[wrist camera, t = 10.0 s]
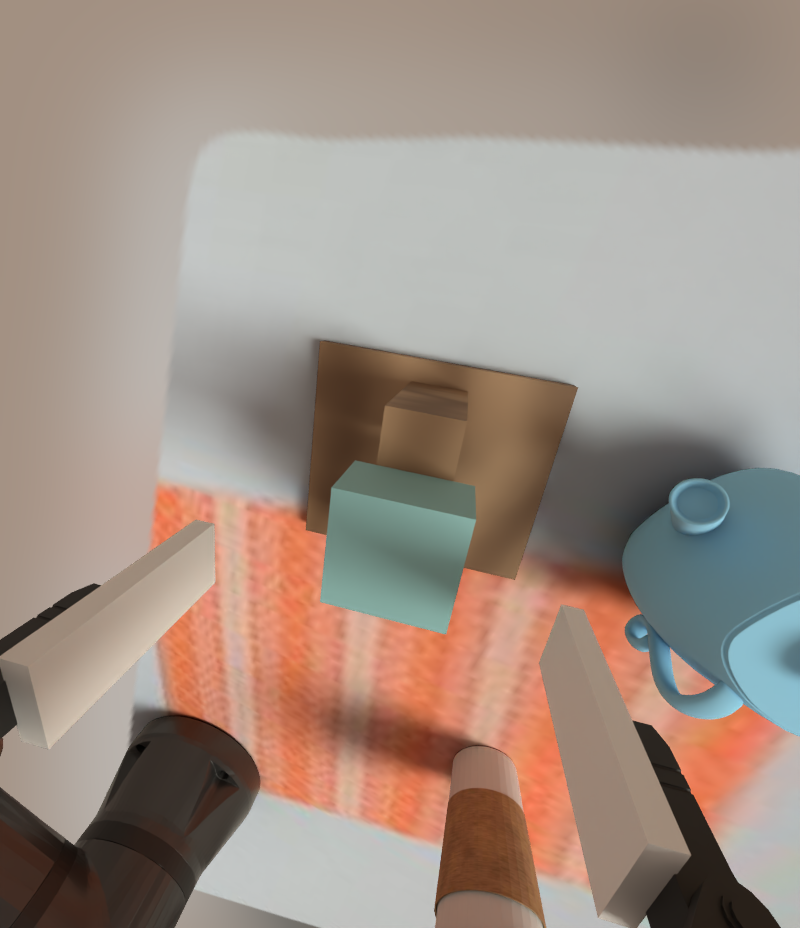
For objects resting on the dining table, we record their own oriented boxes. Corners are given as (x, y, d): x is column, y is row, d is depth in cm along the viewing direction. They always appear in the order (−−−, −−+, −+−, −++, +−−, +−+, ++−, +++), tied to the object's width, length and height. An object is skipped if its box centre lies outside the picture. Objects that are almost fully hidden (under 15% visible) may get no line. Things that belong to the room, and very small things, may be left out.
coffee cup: (423, 766, 37) (395, 1027, 23) (471, 721, 34) (472, 992, 20) (495, 808, 38) (510, 1091, 24) (549, 767, 34) (603, 1066, 20)
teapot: (903, 455, 21) (1318, 578, 11) (802, 642, 26) (1023, 852, 16) (615, 431, 24) (729, 513, 13) (571, 606, 28) (629, 769, 18)
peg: (374, 502, 26) (320, 602, 17) (386, 424, 24) (331, 487, 14) (455, 520, 25) (445, 634, 16) (473, 442, 23) (476, 519, 14)
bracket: (310, 523, 30) (249, 599, 22) (325, 340, 25) (252, 347, 16) (513, 571, 28) (531, 673, 20) (573, 385, 23) (631, 417, 15)
